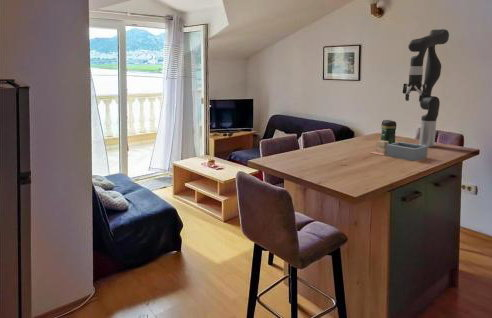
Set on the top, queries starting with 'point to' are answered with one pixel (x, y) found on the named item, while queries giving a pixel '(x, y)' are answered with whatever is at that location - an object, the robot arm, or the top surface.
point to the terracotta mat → (378, 153)
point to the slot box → (407, 151)
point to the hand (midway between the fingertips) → (413, 101)
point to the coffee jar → (388, 131)
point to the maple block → (382, 146)
